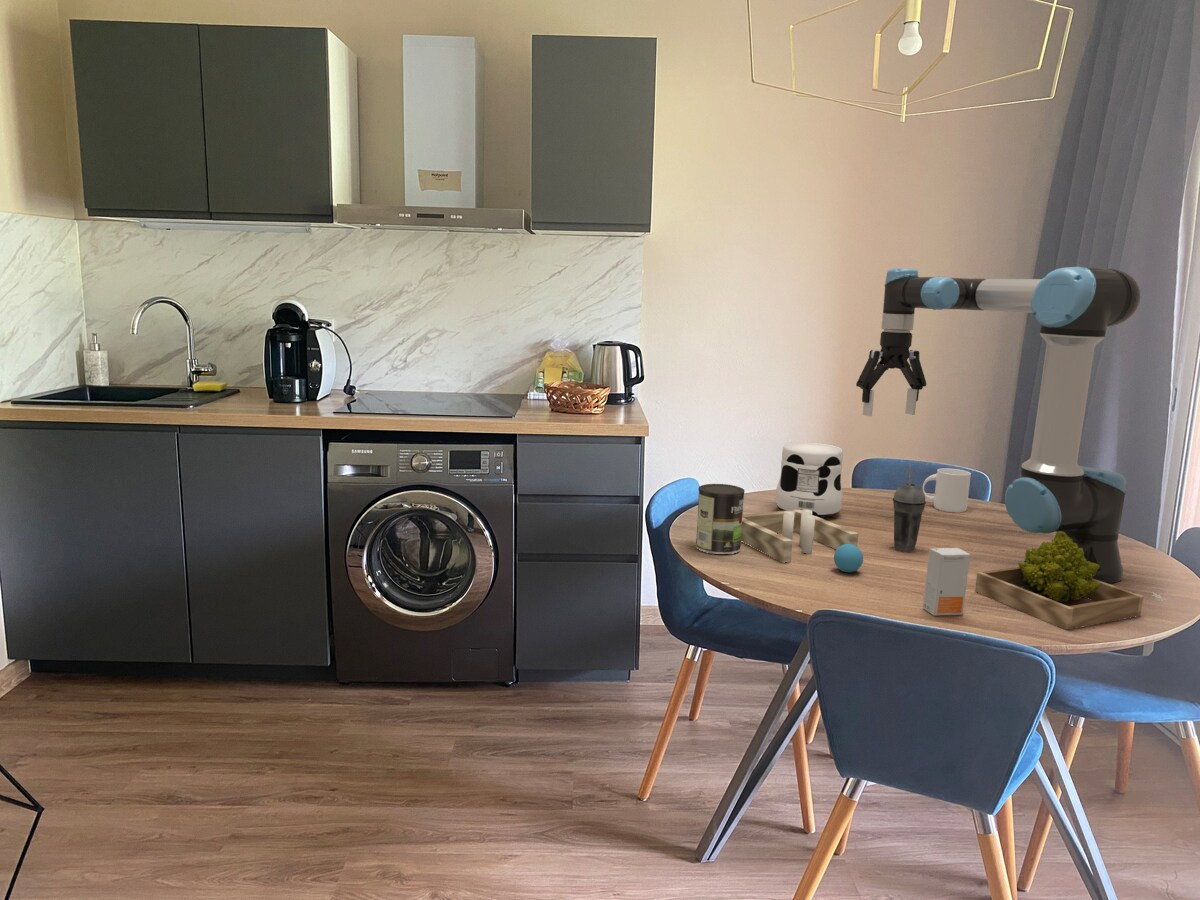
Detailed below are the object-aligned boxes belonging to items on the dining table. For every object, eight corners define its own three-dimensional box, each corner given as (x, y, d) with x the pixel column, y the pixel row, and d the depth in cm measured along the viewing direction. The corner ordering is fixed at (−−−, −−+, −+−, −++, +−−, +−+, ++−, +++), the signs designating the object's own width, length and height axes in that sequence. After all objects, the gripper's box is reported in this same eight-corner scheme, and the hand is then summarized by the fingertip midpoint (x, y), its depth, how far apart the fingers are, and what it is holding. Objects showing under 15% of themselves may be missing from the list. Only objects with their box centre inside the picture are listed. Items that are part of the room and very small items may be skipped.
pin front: (814, 553, 198) (817, 517, 196) (805, 554, 197) (808, 518, 195) (807, 550, 200) (810, 514, 199) (799, 551, 199) (802, 515, 198)
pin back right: (811, 547, 203) (814, 511, 201) (803, 548, 202) (805, 512, 200) (805, 544, 205) (808, 509, 203) (796, 545, 204) (799, 509, 202)
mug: (922, 502, 250) (926, 465, 248) (968, 508, 245) (972, 470, 243) (918, 508, 243) (922, 470, 241) (964, 514, 237) (969, 476, 235)
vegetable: (1006, 586, 168) (1037, 517, 170) (1001, 599, 182) (1030, 534, 184) (1089, 621, 161) (1120, 548, 163) (1077, 631, 175) (1106, 564, 177)
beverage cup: (926, 549, 204) (935, 465, 200) (912, 555, 199) (921, 469, 195) (896, 542, 209) (904, 460, 205) (882, 548, 204) (890, 464, 200)
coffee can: (747, 546, 201) (751, 487, 199) (731, 558, 193) (734, 496, 190) (705, 539, 206) (709, 481, 204) (688, 550, 197) (691, 489, 195)
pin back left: (793, 549, 201) (796, 513, 199) (785, 550, 200) (787, 514, 198) (787, 546, 203) (790, 510, 201) (779, 547, 202) (781, 511, 200)
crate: (1140, 616, 165) (1143, 596, 165) (1066, 630, 157) (1069, 609, 157) (1045, 580, 184) (1047, 562, 184) (974, 591, 176) (977, 572, 176)
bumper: (856, 554, 198) (858, 533, 197) (783, 563, 190) (784, 541, 189) (797, 528, 218) (799, 509, 217) (729, 535, 210) (730, 515, 209)
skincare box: (934, 616, 162) (941, 554, 160) (922, 608, 166) (928, 547, 164) (964, 615, 163) (971, 554, 161) (951, 607, 167) (958, 547, 165)
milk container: (816, 503, 244) (821, 440, 241) (854, 519, 228) (860, 452, 225) (762, 507, 238) (766, 442, 235) (797, 524, 222) (803, 454, 219)
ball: (867, 574, 185) (870, 547, 183) (845, 577, 182) (847, 550, 181) (849, 565, 190) (851, 539, 189) (826, 568, 188) (829, 541, 186)
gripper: (925, 330, 227) (917, 411, 231) (846, 329, 218) (839, 413, 222) (946, 332, 221) (937, 415, 225) (866, 331, 211) (858, 418, 215)
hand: (888, 415), depth 223 cm, fingers open, 13 cm apart
